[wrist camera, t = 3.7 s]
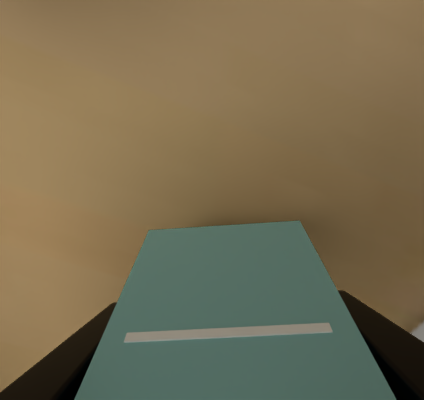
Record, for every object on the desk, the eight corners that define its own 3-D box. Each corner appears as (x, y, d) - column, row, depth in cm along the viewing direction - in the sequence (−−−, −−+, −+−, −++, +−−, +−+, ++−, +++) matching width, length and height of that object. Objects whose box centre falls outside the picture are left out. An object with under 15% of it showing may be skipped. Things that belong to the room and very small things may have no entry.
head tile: (298, 273, 12) (587, 1005, 3) (157, 281, 12) (-49, 979, 3) (299, 219, 11) (700, 958, 2) (148, 229, 11) (-165, 931, 2)
